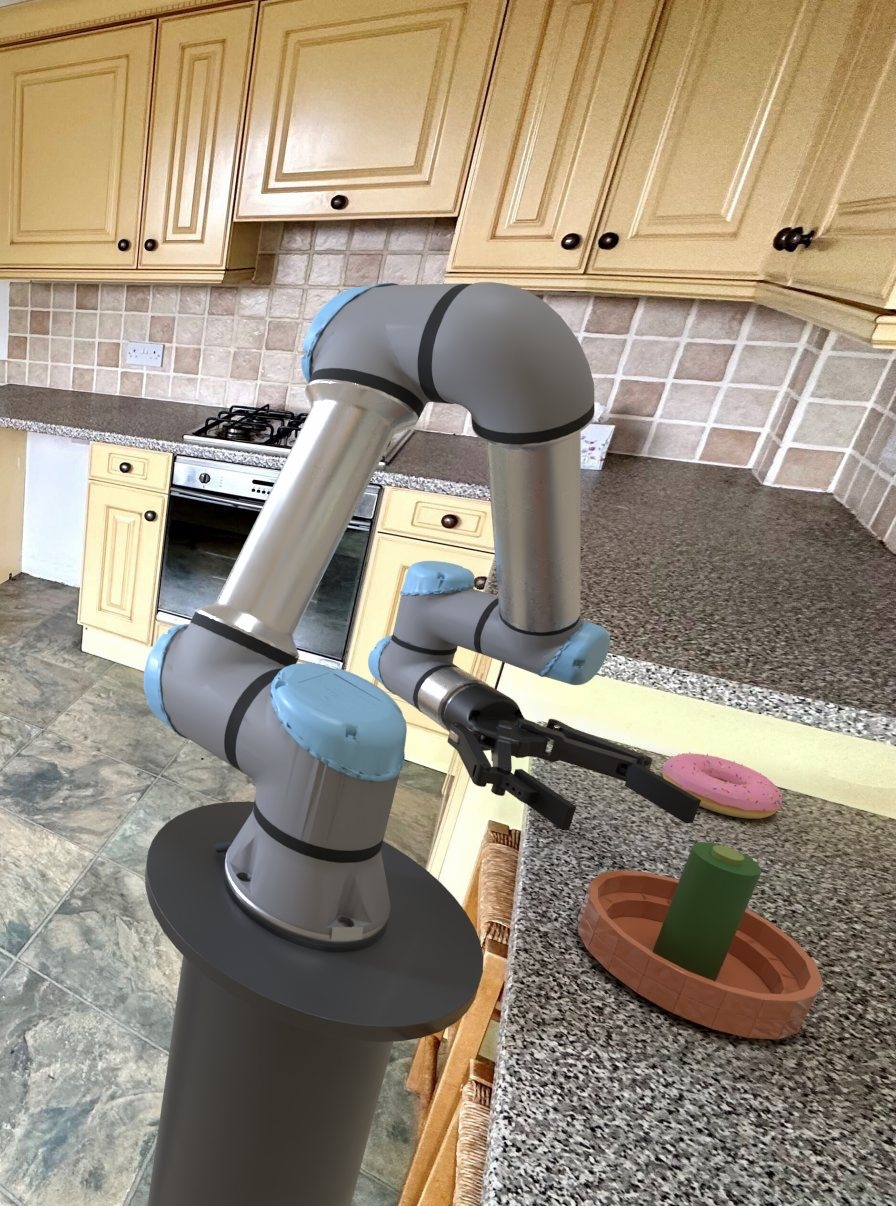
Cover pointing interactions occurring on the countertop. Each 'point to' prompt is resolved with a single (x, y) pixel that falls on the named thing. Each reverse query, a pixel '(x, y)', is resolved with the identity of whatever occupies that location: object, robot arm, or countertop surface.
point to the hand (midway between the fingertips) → (632, 815)
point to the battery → (707, 908)
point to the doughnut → (724, 785)
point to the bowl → (730, 1004)
